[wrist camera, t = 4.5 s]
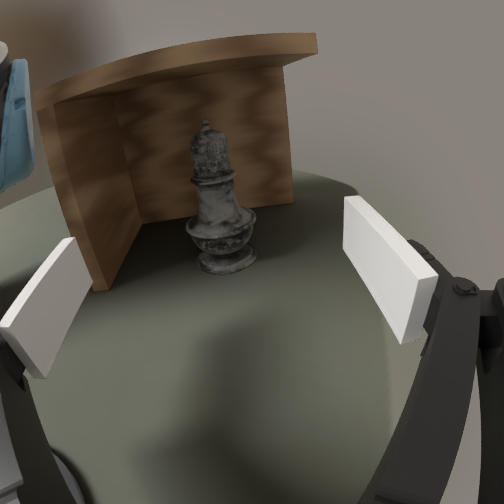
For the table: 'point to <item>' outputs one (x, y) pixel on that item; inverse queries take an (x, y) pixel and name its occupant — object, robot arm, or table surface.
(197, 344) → the table surface
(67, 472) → the saucer
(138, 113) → the walnut shelf
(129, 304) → the table surface
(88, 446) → the table surface
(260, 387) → the table surface
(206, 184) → the grey figurine
